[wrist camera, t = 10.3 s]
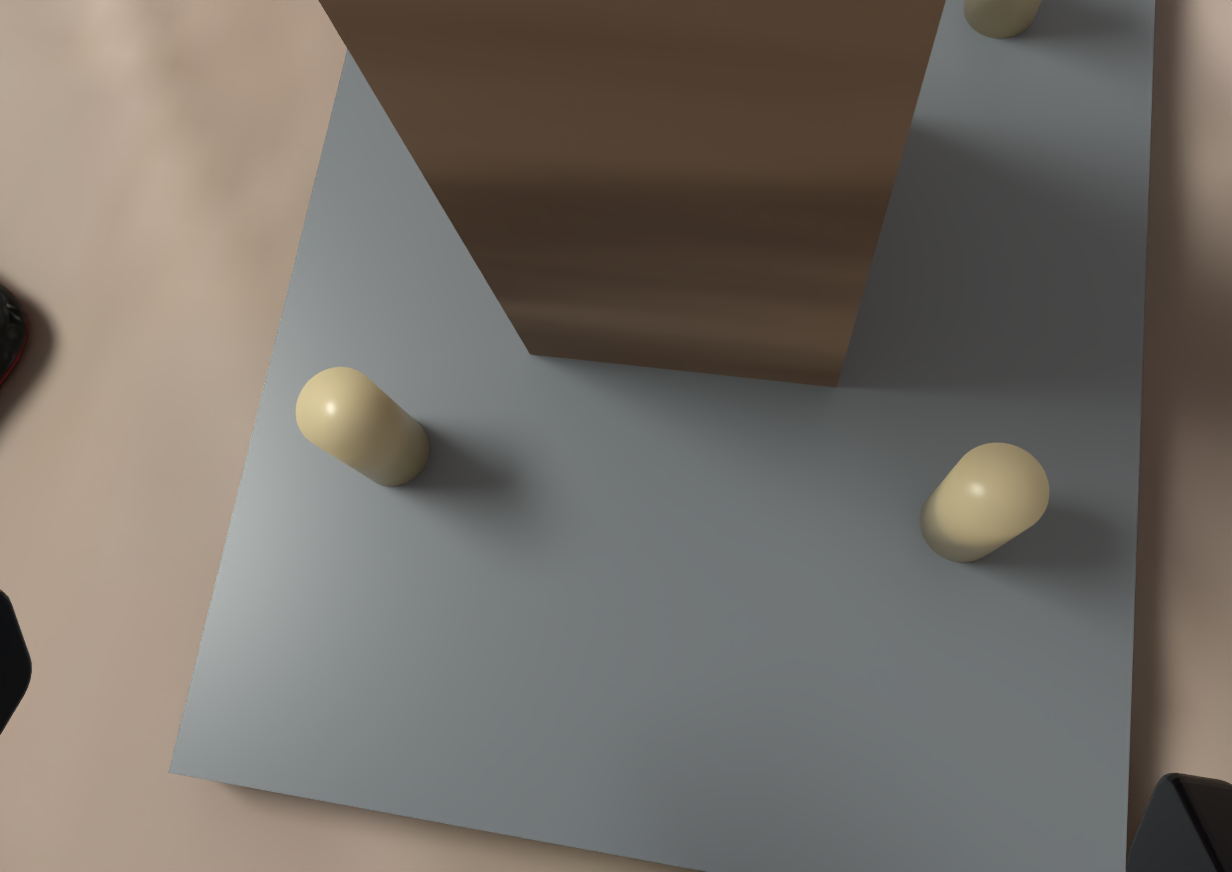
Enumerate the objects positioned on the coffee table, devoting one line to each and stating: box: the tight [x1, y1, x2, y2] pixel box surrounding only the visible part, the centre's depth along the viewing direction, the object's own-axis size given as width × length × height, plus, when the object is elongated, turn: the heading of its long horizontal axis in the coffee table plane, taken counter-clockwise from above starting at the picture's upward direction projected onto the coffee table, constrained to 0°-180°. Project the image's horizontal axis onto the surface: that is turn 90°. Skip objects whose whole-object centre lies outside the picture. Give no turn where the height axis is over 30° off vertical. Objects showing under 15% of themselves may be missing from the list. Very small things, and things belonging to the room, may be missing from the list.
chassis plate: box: [169, 0, 1155, 872], centre depth 17 cm, size 20×14×4 cm
